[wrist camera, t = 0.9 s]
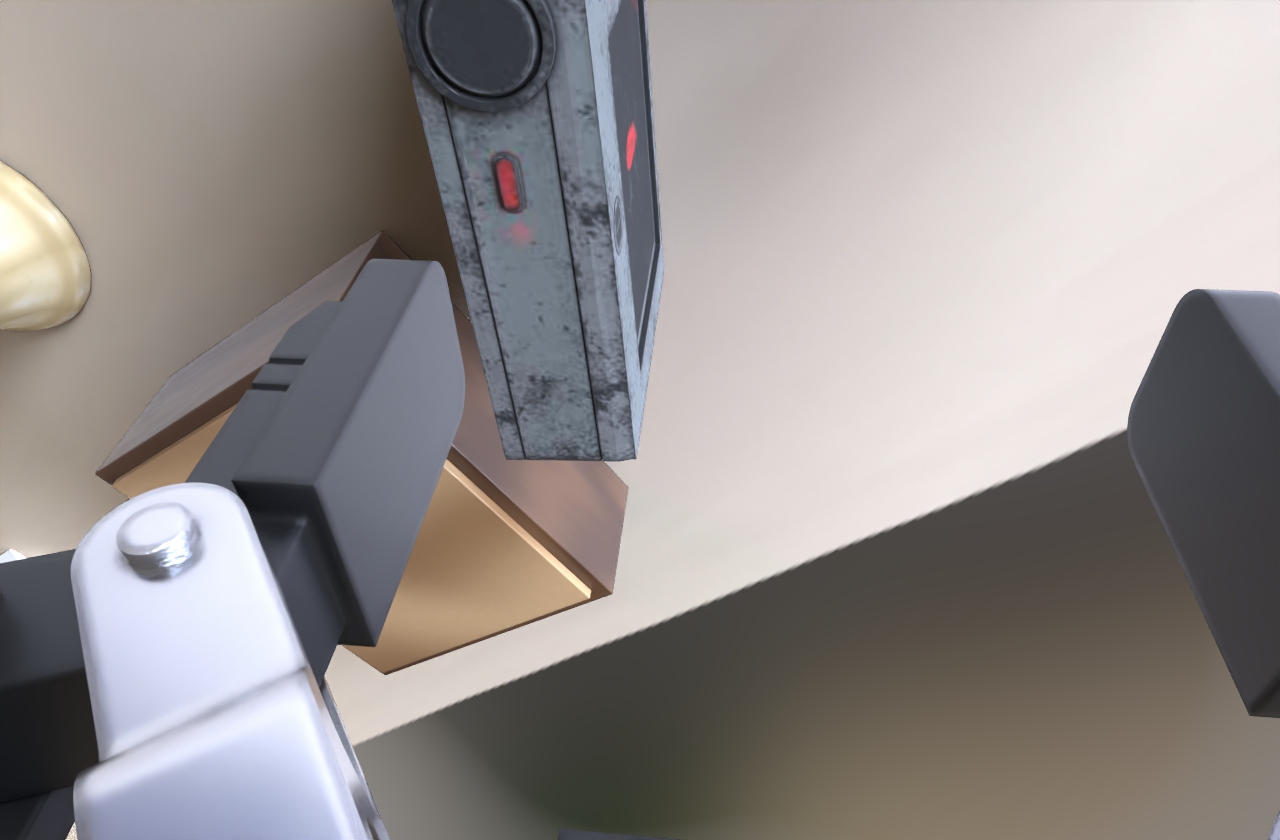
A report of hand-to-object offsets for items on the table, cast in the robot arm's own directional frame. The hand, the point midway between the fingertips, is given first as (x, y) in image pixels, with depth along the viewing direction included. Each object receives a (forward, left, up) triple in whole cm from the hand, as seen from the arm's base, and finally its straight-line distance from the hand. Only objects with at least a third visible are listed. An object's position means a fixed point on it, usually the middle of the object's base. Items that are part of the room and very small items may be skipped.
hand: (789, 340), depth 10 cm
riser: (+18, -15, -18) cm, 30 cm away
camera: (+2, -5, -19) cm, 19 cm away
